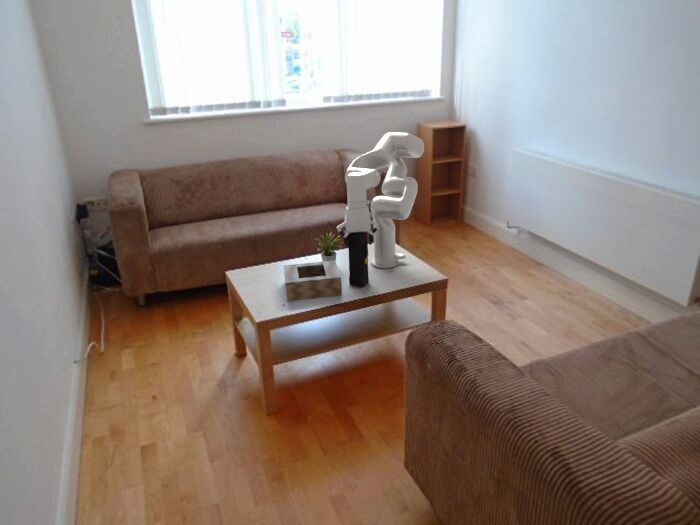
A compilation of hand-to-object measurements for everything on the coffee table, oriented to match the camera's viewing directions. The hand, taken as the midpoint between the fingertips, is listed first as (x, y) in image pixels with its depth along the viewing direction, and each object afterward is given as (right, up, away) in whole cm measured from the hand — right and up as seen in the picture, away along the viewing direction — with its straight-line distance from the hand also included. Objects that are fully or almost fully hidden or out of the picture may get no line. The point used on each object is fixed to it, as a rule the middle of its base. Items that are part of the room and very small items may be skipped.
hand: (358, 244), depth 211 cm
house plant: (-13, -10, +25) cm, 30 cm away
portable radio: (+1, -16, +7) cm, 18 cm away
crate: (-19, -18, +4) cm, 27 cm away
